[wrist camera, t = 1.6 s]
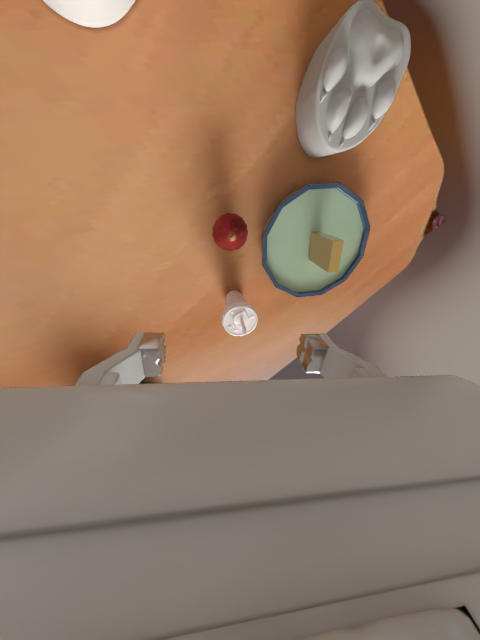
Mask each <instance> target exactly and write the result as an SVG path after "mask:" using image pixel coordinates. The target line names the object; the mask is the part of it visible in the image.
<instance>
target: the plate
mask: <svg viewBox="0 0 480 640" xmlns="http://www.w3.org/2000/svg"><path fill="white" fill-rule="evenodd" d="M369 227H370V224H369V221H368V217H367V213H366V210H365V206H364V202H363V200H362V199H361V198H360V197H359V196H357V195H356V194H355V193H353V192H352V191H351V190H349V189H348V188H347V187H345V186H344V185H343V184H341V183H339V182H335V183H316V184H307V185H304V186H303V187H302V188H300V189H298V190H297V191H295V192H293V193H292V194H290V195H289V196H288V197H287V198H285V199H284V200H283V201H282V202H280V203H279V205H277V207H276V209H275V211H274V212H273V213H272V215H271V217H270V218H269V220H268V223H267V225H266V227H265V230H264V232H263V235H262V246H261V253H262V265H263V267H264V269H265V270H266V272H267V274H268V276H269V277H270V279H271V281H272V282H273V284H274V286H275V287H276V288H278V289H280V290H282V291H285V292H287V293H289V294H291V295H293V296H295V297H305V296H315V295H322V294H324V293H326V292H327V291H329V290H331V289H332V288H334V287H336V286H337V285H339V284H341V283H342V282H344V281H345V280H346V279H347V278H348V277H349V275H350V274H351V273H352V271H353V270H354V269H355V267H356V266H357V265H358V263H359V262H360V261H361V259H362V258H363V257H362V256H364V252H365V248H366V244H367V240H368V235H369V231H370V228H369Z"/></svg>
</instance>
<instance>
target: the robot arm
mask: <svg viewBox="0 0 480 640" xmlns="http://www.w3.org/2000/svg"><path fill="white" fill-rule="evenodd" d="M43 1H44V2H45V3H46V4H47V5H48V6H49V7H50V8H52V9H53V10H54V11H55V12H57V13H58V14H60V15H61V16H63V17H64V18H66V19H68V20H70V21H72V22H74V23H76V24H79V25H82V26H86V27H94V28H98V27H105V26H109V25H111V24H114V23H115V22H117V21H119V20H120V19H121V18H122V17H123V16H124V15H125V14H126V13H127V12H128V11H129V9H130V8H131V7H132V5H133V4H134V2H135V1H136V0H43ZM299 340H300V342H301V343H300V344H299V345H298V347H297V357H298V359H299V361H301V362H302V366H303V368H304V370H305V372H306V373H320V374H321V375H322V376H323V377H324V378H326V379H292V380H257V381H222V382H186V383H151V384H139V383H140V382H141V381H142V380H143V379H144V378H145V377H156V376H161V375H162V371H163V363H164V362H165V358H166V346H165V345H164V342H165V334H164V333H151V332H146V333H145V332H136V333H134V335H133V337H132V339H131V341H130V343H129V345H128V347H127V349H123V350H121V351H120V352H118V353H116V354H114V355H113V356H111V357H109V358H107V359H106V360H104V361H102V362H100V363H99V364H97V365H95V366H93V367H91V368H90V369H88V370H86V371H84V372H83V373H82V375H81V376H80V378H79V379H78V381H77V382H76V384H75V385H74V386H45V387H9V388H0V640H480V385H478V384H475V383H473V382H471V381H468V380H466V379H463V378H460V377H457V376H453V375H435V376H434V375H433V376H400V377H387V376H386V375H385V374H384V373H383V372H382V371H381V370H380V368H378V367H377V366H375V365H373V364H371V363H369V362H367V361H365V360H363V359H361V358H359V357H357V356H355V355H353V354H351V353H349V352H347V351H345V350H343V349H341V348H338V347H337V346H336V345H335V344H334V343H333V342H332V340H331V339H330V338H329V337H328V336H327V335H326V334H302V335H301V336H300V339H299Z"/></svg>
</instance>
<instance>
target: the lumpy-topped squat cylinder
mask: <svg viewBox="0 0 480 640" xmlns="http://www.w3.org/2000/svg"><path fill="white" fill-rule="evenodd" d="M410 52H411V40H410V33H409V31H408V29H407V27H406V26H405V25H404V24H403V23H401V22H399V21H396V20H393V19H391V18H389V17H388V16H387V15H386V14H385V13H384V12H383V11H382V10H381V8H380V7H379V6H378V4H377V3H376V2H374V1H373V0H359V1H357V2H356V3H354V4H353V5H352V6H351V7H350V8H349V9H348V10H347V11H346V12H345V13H344V15H343V16H342V17H341V18H340V20H339V21H338V22H337V23H336V25H335V26H334V27H333V28H332V30H331V31H330V32H329V33H328V35H327V36H326V37H325V38H324V39H323V41H322V42H321V43H320V44H319V46H318V47H317V49H316V50H315V52H314V54H313V56H312V59H311V61H310V63H309V66H308V68H307V71H306V73H305V76H304V79H303V82H302V85H301V88H300V92H299V95H298V99H297V103H296V128H297V135H298V139H299V142H300V144H301V147H302V148H303V150H304V152H305V153H306V154H307V155H309V156H311V157H314V158H319V157H323V156H327V155H331V154H335V153H339V152H343V151H346V150H348V149H350V148H353V147H355V146H356V145H358V144H359V143H360V142H362V141H363V140H364V139H365V138H366V137H367V136H368V135H369V134H370V133H371V132H372V131H373V130H374V129H375V128H376V127H377V126H378V125H379V123H380V122H381V120H382V118H383V116H384V115H385V113H386V111H387V110H388V108H389V107H390V105H391V104H392V102H393V100H394V98H395V95H396V91H397V89H398V87H399V84H400V82H401V80H402V77H403V75H404V72H405V70H406V67H407V64H408V61H409V58H410Z"/></svg>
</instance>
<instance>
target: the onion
mask: <svg viewBox="0 0 480 640" xmlns="http://www.w3.org/2000/svg"><path fill="white" fill-rule="evenodd" d="M247 234H248V231H247V226H246V224H245V222H244V220H243V219H242V218H241V217H240V216H238V215H236V214H231V213H227V214H225V215H222V216H220V217H219V218H218V219H217V220H216V222H215V224H214V226H213V238H214V241H215V242H216V244H217V245H218V246H219V247H221V248H222V249H224V250H228V251H234V250H237V249H239V248H240V247H241V246H243V244H244V243H245V241H246V239H247Z"/></svg>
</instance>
